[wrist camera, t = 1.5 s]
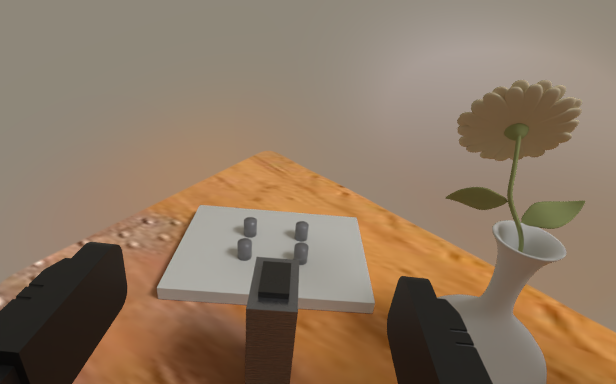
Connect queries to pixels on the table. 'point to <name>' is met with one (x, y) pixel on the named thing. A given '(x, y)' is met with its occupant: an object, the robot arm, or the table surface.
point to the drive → (271, 321)
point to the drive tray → (271, 244)
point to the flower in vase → (514, 234)
